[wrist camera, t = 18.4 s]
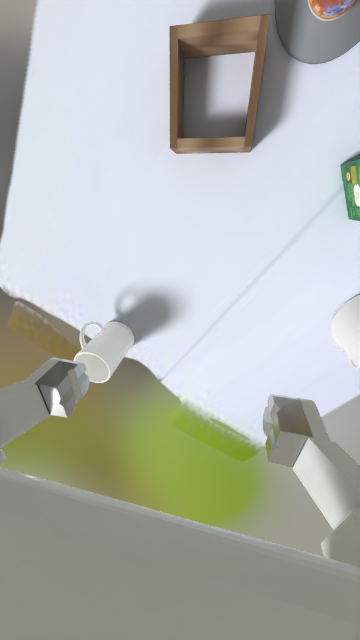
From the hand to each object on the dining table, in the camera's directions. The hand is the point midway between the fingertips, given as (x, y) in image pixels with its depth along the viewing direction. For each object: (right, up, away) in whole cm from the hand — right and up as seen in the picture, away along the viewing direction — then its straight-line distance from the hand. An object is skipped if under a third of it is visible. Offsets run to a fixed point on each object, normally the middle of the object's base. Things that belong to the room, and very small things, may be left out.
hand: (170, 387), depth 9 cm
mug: (-15, 0, +44) cm, 46 cm away
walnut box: (+5, +33, +20) cm, 39 cm away
